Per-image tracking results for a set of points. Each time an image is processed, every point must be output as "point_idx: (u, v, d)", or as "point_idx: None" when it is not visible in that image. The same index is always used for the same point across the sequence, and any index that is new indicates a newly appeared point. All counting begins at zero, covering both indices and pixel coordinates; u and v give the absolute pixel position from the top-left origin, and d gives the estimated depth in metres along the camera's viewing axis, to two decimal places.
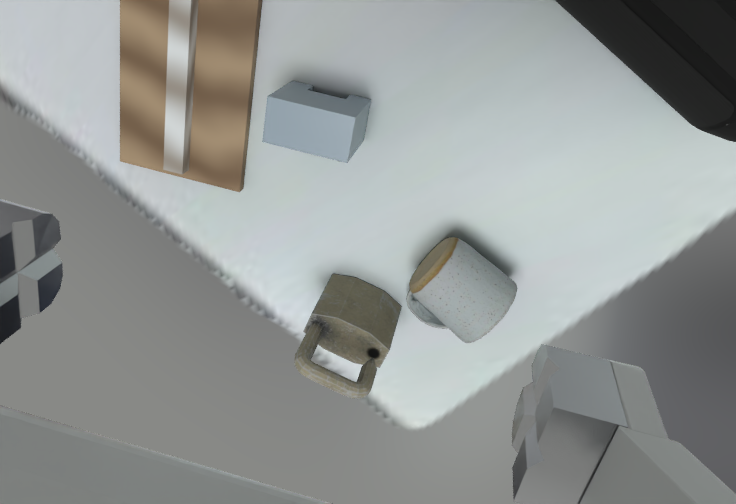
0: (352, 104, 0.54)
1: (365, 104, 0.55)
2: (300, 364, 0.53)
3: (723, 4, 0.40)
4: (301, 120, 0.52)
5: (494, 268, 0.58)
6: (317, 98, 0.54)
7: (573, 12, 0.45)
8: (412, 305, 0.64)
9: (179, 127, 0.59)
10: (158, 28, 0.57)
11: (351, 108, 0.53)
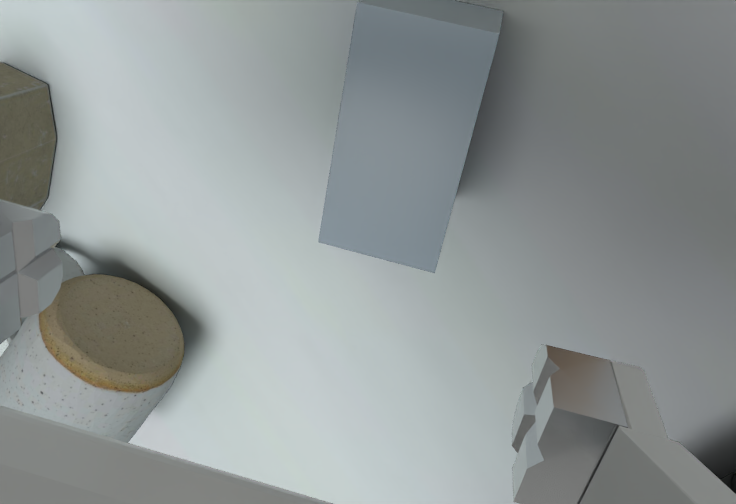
0: None
1: None
2: None
3: None
4: (426, 134, 0.18)
5: (140, 425, 0.31)
6: None
7: None
8: None
9: None
10: None
11: None
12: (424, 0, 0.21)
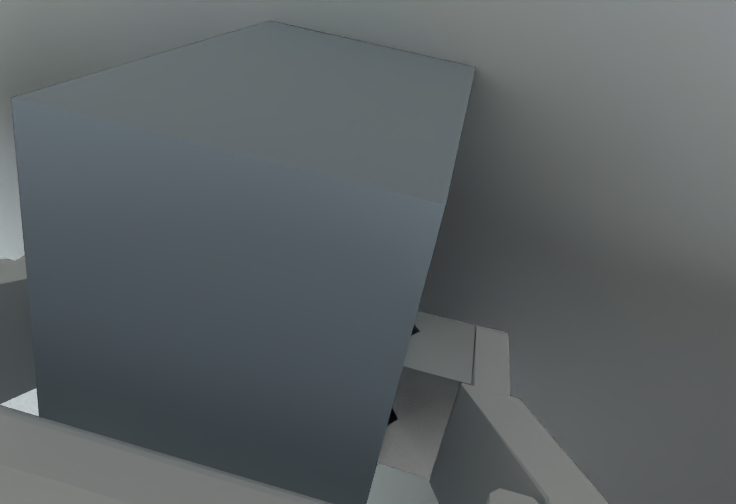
0: None
1: None
2: None
3: None
4: (260, 436, 0.07)
5: None
6: None
7: None
8: None
9: None
10: None
11: None
12: (297, 55, 0.09)
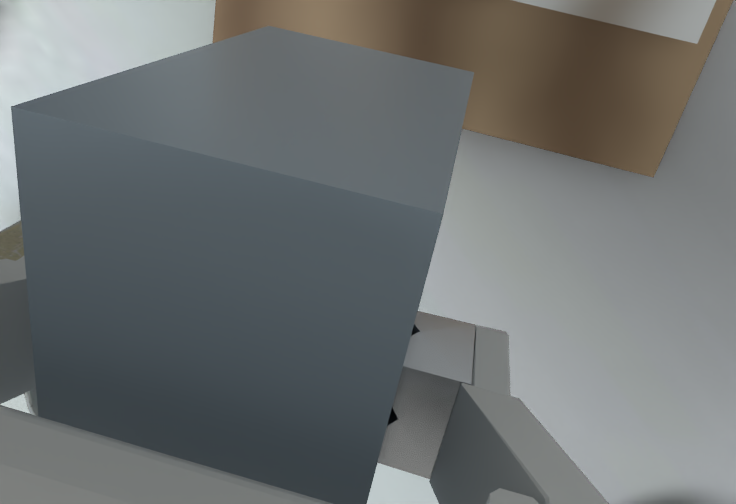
0: None
1: None
2: None
3: None
4: (259, 443, 0.07)
5: None
6: None
7: None
8: None
9: None
10: None
11: None
12: (296, 61, 0.09)
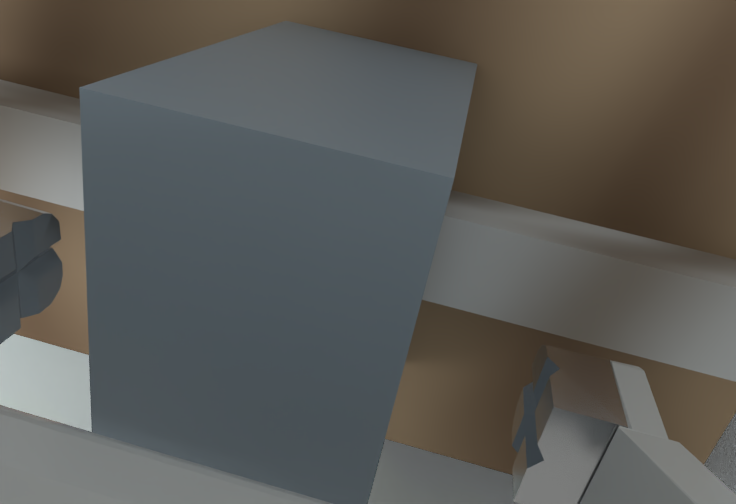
0: None
1: None
2: None
3: None
4: (289, 388, 0.08)
5: None
6: None
7: None
8: None
9: None
10: (559, 134, 0.13)
11: None
12: (315, 52, 0.10)
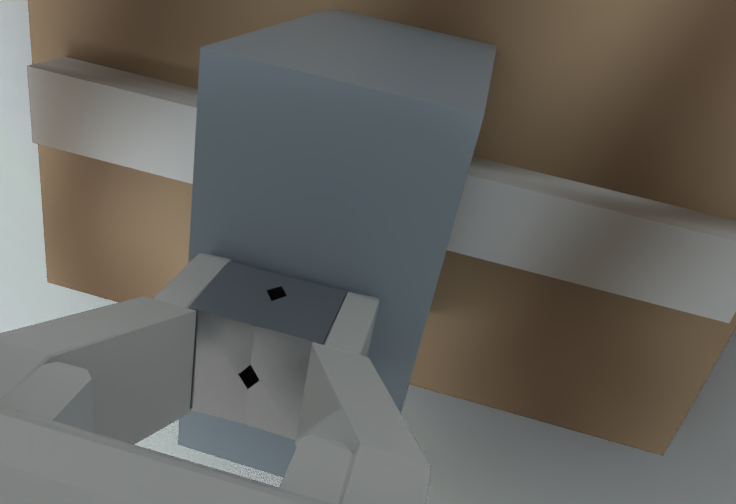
0: None
1: None
2: None
3: None
4: (348, 290, 0.10)
5: None
6: None
7: None
8: None
9: None
10: (567, 107, 0.15)
11: None
12: (362, 31, 0.12)
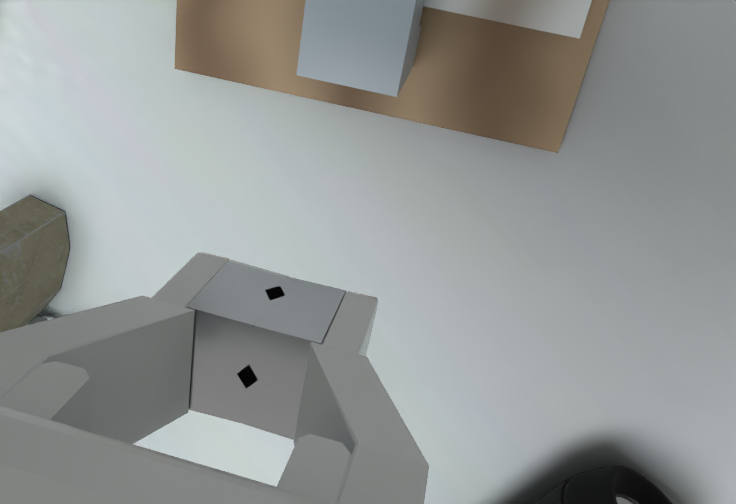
0: (411, 53, 0.27)
1: (409, 72, 0.28)
2: None
3: None
4: None
5: None
6: None
7: None
8: None
9: None
10: None
11: (407, 63, 0.25)
12: None
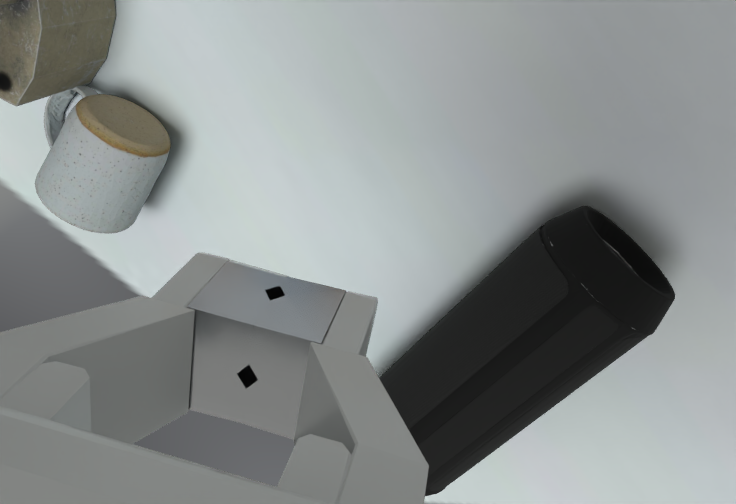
0: None
1: None
2: None
3: (473, 443, 0.43)
4: None
5: (144, 200, 0.47)
6: None
7: (471, 309, 0.42)
8: (63, 91, 0.47)
9: None
10: None
11: None
12: None
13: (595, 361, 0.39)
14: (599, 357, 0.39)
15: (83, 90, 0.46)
